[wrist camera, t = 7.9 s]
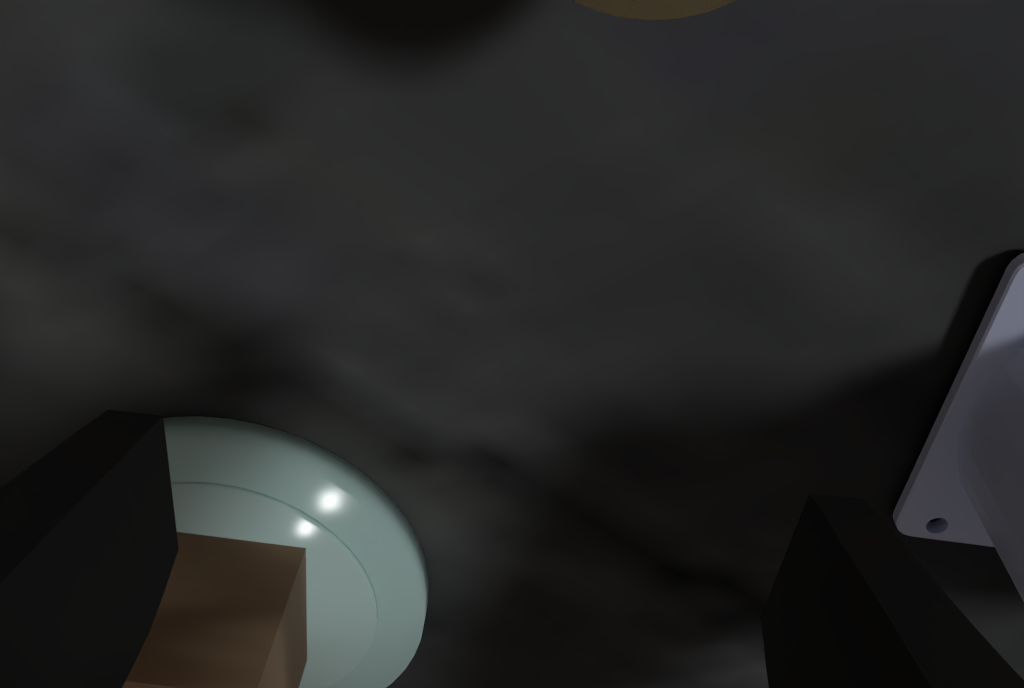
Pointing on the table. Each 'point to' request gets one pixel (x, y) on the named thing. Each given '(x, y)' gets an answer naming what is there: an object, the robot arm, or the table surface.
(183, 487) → the dish
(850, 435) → the table surface
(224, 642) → the block
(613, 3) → the balance
